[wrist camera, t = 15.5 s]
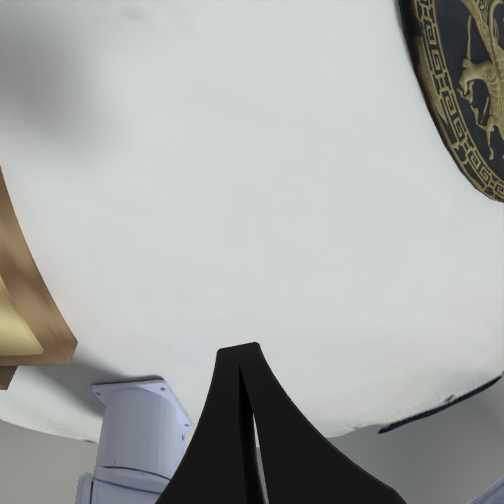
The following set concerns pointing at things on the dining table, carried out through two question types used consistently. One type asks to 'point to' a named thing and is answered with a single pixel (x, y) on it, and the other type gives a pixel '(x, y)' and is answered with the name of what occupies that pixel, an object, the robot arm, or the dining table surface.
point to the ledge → (6, 376)
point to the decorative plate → (462, 81)
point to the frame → (26, 302)
